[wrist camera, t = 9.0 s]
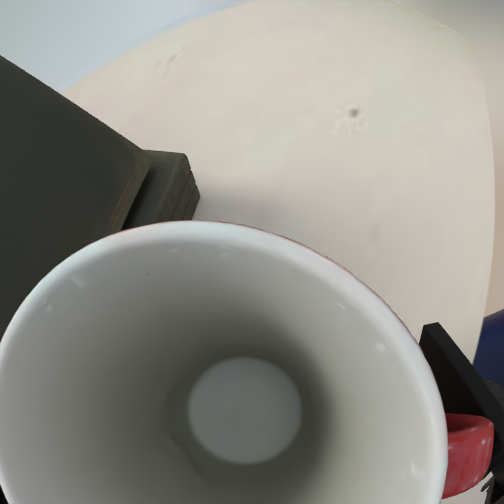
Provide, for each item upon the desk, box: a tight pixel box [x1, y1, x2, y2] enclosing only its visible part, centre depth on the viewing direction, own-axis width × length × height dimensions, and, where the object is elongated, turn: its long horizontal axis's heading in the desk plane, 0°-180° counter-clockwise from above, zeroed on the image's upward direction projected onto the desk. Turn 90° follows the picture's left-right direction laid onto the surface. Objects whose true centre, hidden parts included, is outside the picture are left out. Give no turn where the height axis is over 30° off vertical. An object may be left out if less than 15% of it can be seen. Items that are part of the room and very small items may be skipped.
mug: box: [0, 220, 494, 504], centre depth 9 cm, size 13×9×14 cm
